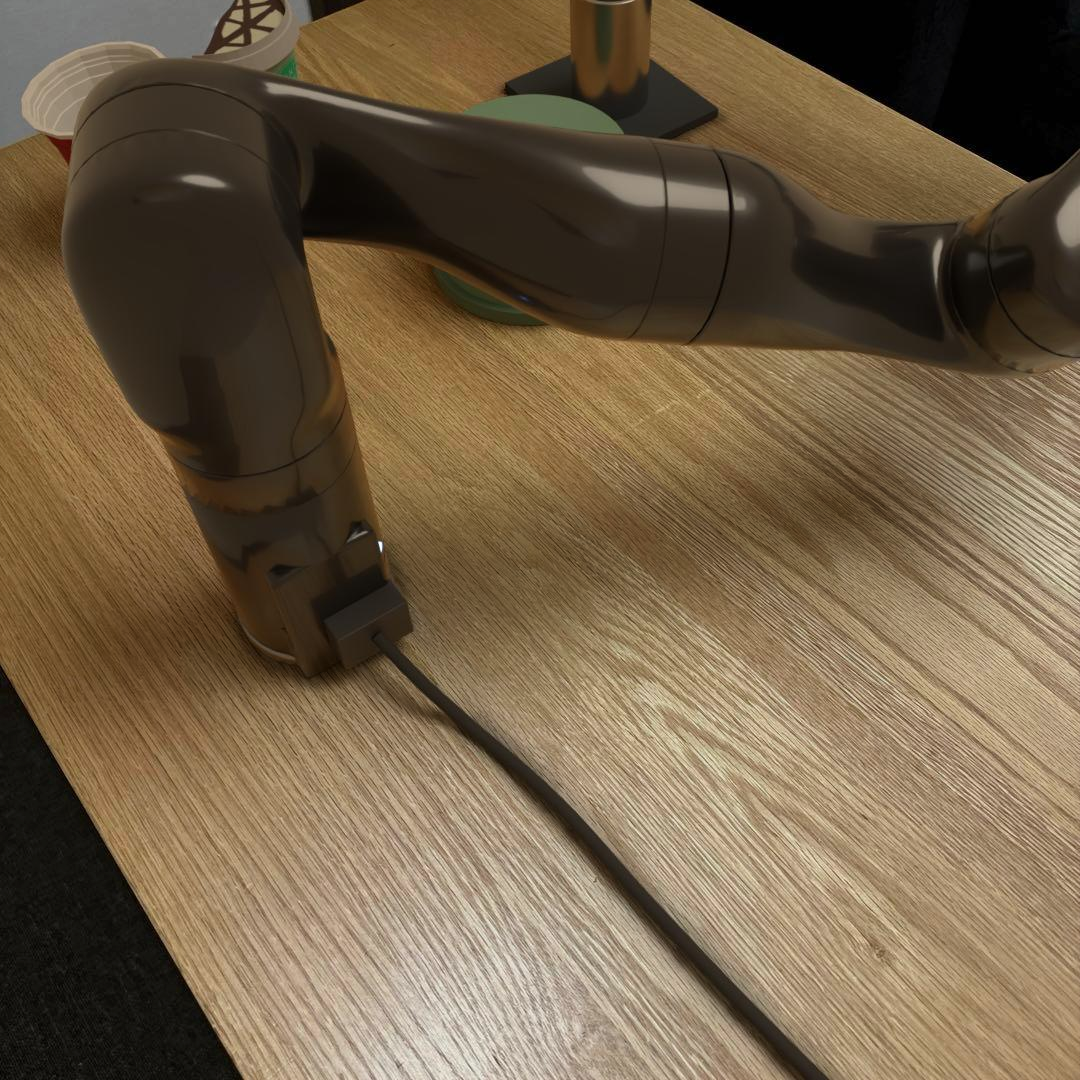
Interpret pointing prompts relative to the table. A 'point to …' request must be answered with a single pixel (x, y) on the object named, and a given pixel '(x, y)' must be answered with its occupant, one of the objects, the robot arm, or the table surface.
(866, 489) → the table surface
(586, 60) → the steel cup
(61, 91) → the plastic cup
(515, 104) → the sage green puck
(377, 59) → the table surface
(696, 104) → the mat
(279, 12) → the food container
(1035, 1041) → the table surface
